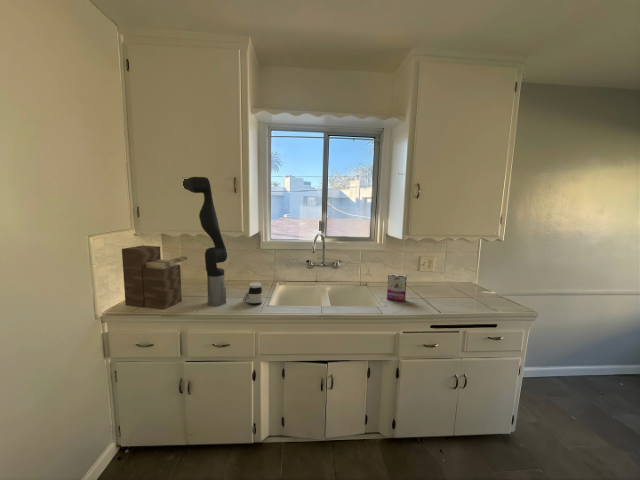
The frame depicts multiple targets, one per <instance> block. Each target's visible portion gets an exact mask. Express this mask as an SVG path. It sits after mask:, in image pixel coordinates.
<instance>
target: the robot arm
mask: <svg viewBox="0 0 640 480" xmlns="http://www.w3.org/2000/svg"><path fill="white" fill-rule="evenodd" d="M183 186H184V188H185V189H184V190H187V191H189V192H191V193H193V194H203V204H202V206H201V208H200V211H199V213H198V217H199V221H200V222H199V223H200V226H201V228H202V229H203V230H204V232H205V233H206V235H208V236H209V237H210V238H211V240H212V242H213V245H214V246H213V247H208V248H206V250H205V253H204V263H205V271H206V278H207V279H206V280H207V282H206V284H207V288H206V289H207V306H208V307H209V306H210V307H219V306H222V305H225V304H227V287H226V286H225V270H224V268H221V267H218V265H217V264H218V263H219V264H220V263H224V262H226V261H227V259H228V253H227V249H226V245H225V242H224V240H223V239H224V238H223V237H222V234H221V229H220V225H219V221H218V217H217V213H216V209H215V204H214V201H213V200H214V199H213V194H212V187H211V183H210V180H209V178H208V177H205V176H191V177H188V179H184V181H183Z"/></svg>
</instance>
